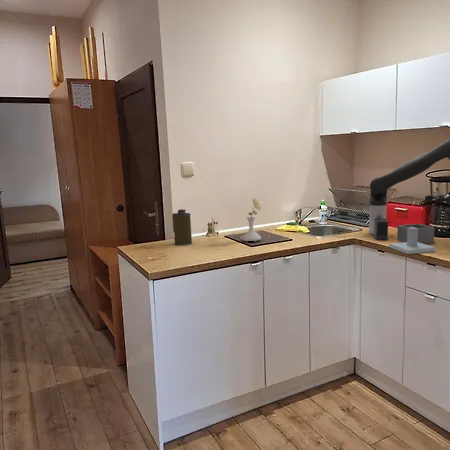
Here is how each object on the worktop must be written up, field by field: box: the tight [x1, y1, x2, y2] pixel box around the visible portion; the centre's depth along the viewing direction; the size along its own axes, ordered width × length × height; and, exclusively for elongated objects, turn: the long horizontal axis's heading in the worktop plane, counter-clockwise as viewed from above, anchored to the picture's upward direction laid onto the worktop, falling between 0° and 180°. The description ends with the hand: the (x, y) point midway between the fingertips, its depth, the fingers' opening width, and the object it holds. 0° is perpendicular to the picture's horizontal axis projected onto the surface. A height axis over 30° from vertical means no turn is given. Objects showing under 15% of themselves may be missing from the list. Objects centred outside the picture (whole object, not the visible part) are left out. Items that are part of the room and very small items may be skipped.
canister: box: [171, 208, 193, 247], centre depth 248 cm, size 11×10×20 cm
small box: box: [373, 218, 389, 241], centre depth 242 cm, size 11×6×10 cm, turn 168°
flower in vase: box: [241, 197, 262, 242], centre depth 247 cm, size 13×11×25 cm
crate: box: [396, 223, 435, 244], centre depth 231 cm, size 13×13×8 cm
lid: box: [389, 227, 436, 255], centre depth 213 cm, size 15×15×11 cm
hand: (430, 198), depth 216 cm, fingers open, 8 cm apart
